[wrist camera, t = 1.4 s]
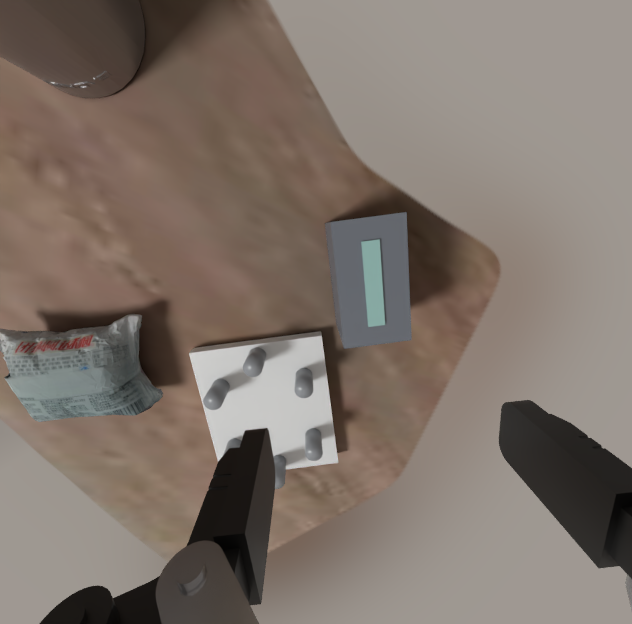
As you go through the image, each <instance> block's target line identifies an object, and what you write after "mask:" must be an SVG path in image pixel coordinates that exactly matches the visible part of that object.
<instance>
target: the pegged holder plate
mask: <svg viewBox="0 0 632 624" xmlns="http://www.w3.org/2000/svg"><path fill="white" fill-rule="evenodd" d="M189 355H190V359H191V363H192V366H193V370H194V374H195V378H196V381H197V385H198V389H199V392H200V396H201V400H202V404H203V407H204V411H205V415H206V418H207V422H208V426H209V429H210V433H211V437H212V441H213V444H214V448H215V452H216V455H217V459H218V461H219V460H220V459H221V458H222V457H223V455H224V454H225V453H226V452H227V451H228V449H229V448H237V447H240V444H241V441H242V438H243V435H244V432H245V430H253V429H262V428H268V430H269V435H270V440H271V446H272V452H273V458H274V463H275V489H278V488H281V487H282V486H283V485H284V484H285V473H286V469H293V468H301V467H308V466H316V465H324V464H332V463H338V457H337V449H336V441H335V434H334V426H333V418H332V411H331V403H330V395H329V388H328V380H327V372H326V365H325V357H324V349H323V342H322V334H321V331H318V332H311V333H303V334H296V335H288V336H280V337H273V338H265V339H258V340H250V341H242V342H235V343H227V344H220V345H212V346H204V347H197V348H193V349H192V350H191V351H190V353H189Z"/></svg>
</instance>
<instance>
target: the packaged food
mask: <svg viewBox="0 0 632 624" xmlns="http://www.w3.org/2000/svg"><path fill="white" fill-rule="evenodd" d="M141 318H142V315H139V314H130V315H126V316H124V317H123V318H121V319H119V320H117V321H115V322H113V323H112V324H111V325H109V326H100V327H90V328H81V329H74V330H69V331H66V332H54V331H28V332H26V331H15V330H6V329H0V351H1V352H2V353H3V354H4V357H3V358H4V360H5V361H6V363H7V367H8V369H9V372H10V373H9V374H8V376H6V377H5V380H6V381H7V383H8V384H9V386H10V387H11V389H12V390H13V392H14V393H15V394H16V396H17V397H18V399H19V400H20V401H21V403H22V404H23V406H24V407H25V408H26V410H27V411H28V413H29V414H30V416H31V417H32V418H33V419H35V420H36V421H39V422H42V421H49V420H57V419H64V418H72V417H85V416H101V415H112V414H113V415H137V414H139V413H142V412H144V411H146V410H148V409H149V408H151V407H152V406H153V404H154V403H155V402H158V401H159V400H160V399H161V398H162V397H163V396H162V394H163V392H162V391H161V389H158V388H156V387H154V386H153V385H152V384H151V381H150V380H149V379H148V377H147V376H146V375H145V373H144V372H143V370H142V368H141V366H140V360H139V357H138V355H139V329H140V327H141V321H142V319H141Z"/></svg>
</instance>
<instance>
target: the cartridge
mask: <svg viewBox="0 0 632 624" xmlns="http://www.w3.org/2000/svg"><path fill="white" fill-rule="evenodd" d="M325 229H326V237H327V246H328V255H329V264H330V273H331V281H332V290H333V299H334V308H335V317H336V324H337V328H338V331H339V334H340V337H341V340H342V344H343V347H344V349H346V348H354V347H362V346H369V345H377V344H385V343H392V342H400V341H408V340H411V314H410V288H409V263H408V237H407V212H403V213H395V214H388V215H380V216H373V217H365V218H357V219H350V220H342V221H335V222H329V223H325Z"/></svg>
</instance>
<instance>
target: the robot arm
mask: <svg viewBox="0 0 632 624" xmlns="http://www.w3.org/2000/svg"><path fill="white" fill-rule="evenodd" d="M144 44H145V26H144V18H143V14H142V10H141V6H140V2H139V0H0V57H2V58H4V59H6V60H7V61H9V62H11V63H13V64H14V65H16V66H18V67H20V68H22V69H23V70H25V71H27V72H29V73H30V74H32V75H34V76H36V77H38V78H39V79H41V80H43V81H45V82H47V83H48V84H50V85H52V86H54V87H55V88H57V89H59V90H61V91H64V92H66V93H68V94H70V95H73V96H78V97H82V98H101V97H105V96H109V95H112V94H114V93H115V92H117V91H119V90H120V89H122V88H123V87H124V86H125V85H126V84H127V83H128V82H129V81H130V80H131V79H132V78H133V76H134V74H135V73H136V71H137V69H138V68H139V65H140V62H141V59H142V56H143V53H144ZM499 446H500V450H501V452H502V454H503V456H504V458H505V460H506V461H507V462H508V463H509V464H510V466H511V467H512V468H513V469H514V470H515V471H516V472H517V474H518V475H519V476H520V477H521V478H522V480H523V481H524V482H525V483H526V484H527V485H528V487H529V488H530V489H531V490H532V491H533V492H534V494H535V495H536V496H537V497H538V498H539V499H540V501H541V502H542V503H543V504H544V505H545V506H546V507H547V509H548V510H549V511H550V512H551V513H552V514H553V516H554V517H555V518H556V519H557V520H558V521H559V523H560V524H561V525H562V526H563V527H564V528H565V530H566V531H567V532H568V533H569V534H570V535H571V537H572V538H573V539H574V540H575V541H576V542H577V544H578V545H579V546H580V547H581V548H582V549H583V551H584V552H585V553H586V554H587V555H588V556H589V557H590V559H591V560H592V561H593V562H594V563H595V564H596V566H597V567H598V568H605V567H614V566H620V567H621V568H622V569H623V570H624V571H625V572H626V573H627V578H626V588H627V592H628V597H629V601H630V605H631V610H632V468H631V467H629V466H628V465H627V464H625V463H624V462H623V461H621V460H620V459H619V458H617V457H616V456H615V455H613V454H612V453H610V452H609V451H608V450H606V449H603V448H602V447H601V445H600V444H598V443H597V442H595V441H594V440H593V439H592V438H588V436H587V435H586V434H585V433H583V432H582V431H581V430H579V429H578V428H577V427H575V426H574V425H572V424H571V423H569V422H567V421H565V420H563V419H561V418H559V417H556V416H554V415H552V414H548V413H547V412H546V411H544V410H543V409H542V408H540V407H539V406H538V405H536V404H535V403H534V402H532V401H530V400H524V401H515V402H506V403H504V404H503V406H502V409H501V421H500V433H499ZM274 491H275V463H274V458H273V452H272V446H271V440H270V435H269V430H268V428H262V429H253V430H245V432H244V435H243V438H242V441H241V444H240V447H237V448H229V449H228V451H227V452H226V453H225V454H224V455H223V457H222V458H221V459H220V460H219V461H218V464H217V467H216V470H215V472H214V475H213V479H212V480H211V483H210V486H209V491H207V494H206V496H205V499H204V502H203V504H202V507H201V510H200V512H199V515H198V518H197V521H196V523H195V526H194V529H193V531H192V534H191V537H190V539H189V542H188V544H187V546H186V547H185V548H183V549H182V550H181V551H179V552H178V553H177V554H176V555H175V556H174V557H173V558H172V559H171V560H170V561H169V562H168V563H167V565H166V566H165V568H164V569H163V571H162V573H161V575H160V576H159V577H157V578H156V579H154V580H152V581H150V582H148V583H146V584H144V585H142V586H139V587H137V588H135V589H133V590H131V591H129V592H126V593H124V594H122V595H120V596H117V597H115V598H112V596H111V593H110V591H109V590H108V589H107V588H104V587H103V586H91V587H88V588H84V589H82V590H80V591H78V592H76V593H74V594H72V595H71V596H69V597H68V598H66V599H65V600H63V601H62V602H61V603H60V604H58V605H57V606H56V607H55V608H54V609H53V610H52V611H51V612H50V613H49V614H48V615H47V616H46V617H45V618H44V619H43V620H42V621H41V623H40V624H259V623H258V621H257V619H256V617H255V615H254V613H253V611H252V609H251V607H250V605H257V604H261V600H262V591H263V584H264V575H265V567H266V566H265V565H266V558H267V550H268V541H269V533H270V525H271V516H272V508H273V499H274Z"/></svg>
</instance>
